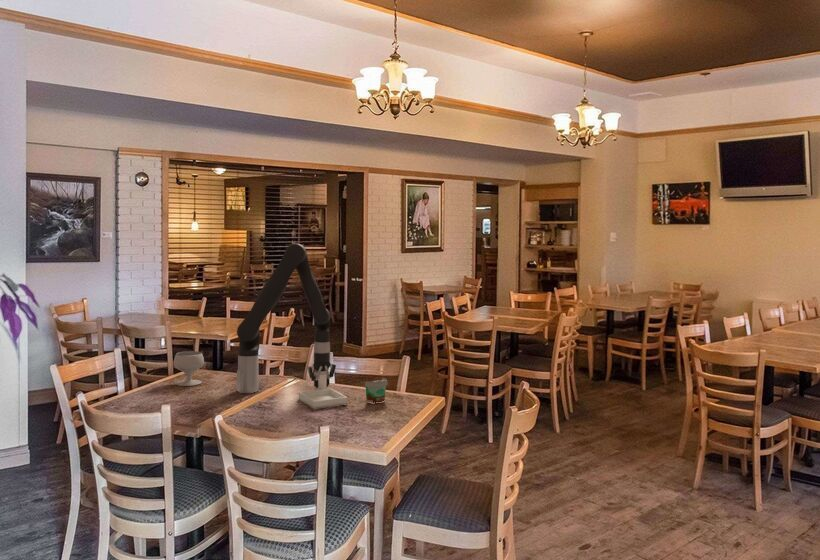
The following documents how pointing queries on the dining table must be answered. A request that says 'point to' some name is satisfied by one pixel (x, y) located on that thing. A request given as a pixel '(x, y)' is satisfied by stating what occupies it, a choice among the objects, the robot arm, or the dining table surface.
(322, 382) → the salt shaker
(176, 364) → the chalice
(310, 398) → the tray
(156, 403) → the dining table surface
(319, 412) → the dining table surface
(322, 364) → the robot arm
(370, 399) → the food container
